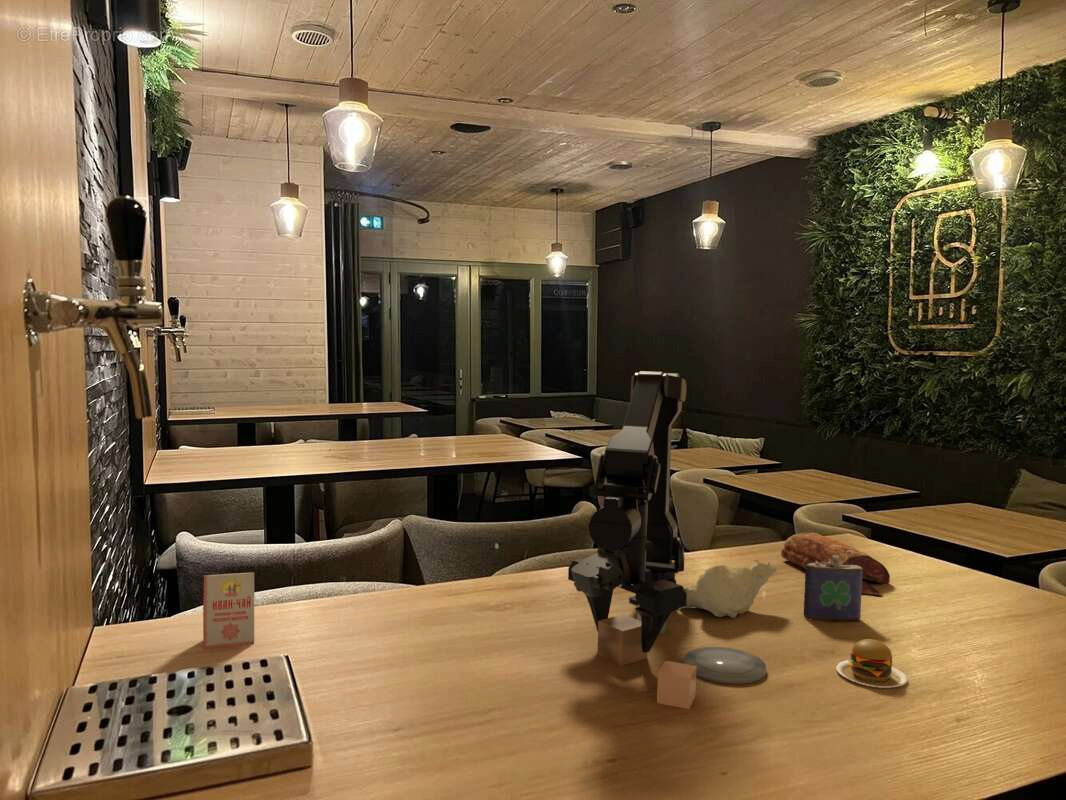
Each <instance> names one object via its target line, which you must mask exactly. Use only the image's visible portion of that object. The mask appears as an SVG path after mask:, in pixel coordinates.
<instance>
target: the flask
mask: <svg viewBox="0 0 1066 800" xmlns="http://www.w3.org/2000/svg"><path fill="white" fill-rule="evenodd" d="M832 557H833V558H832V560H831V561H828V563H826V562H822V563H824V564H822V563H818V561H816V562H815V563H809V564H807V565H806V566H805V568H804V570H805V574H804V594H803V595H804V596H803V598H804V599H803V617H805V618H807V619H806V620H809V619H811V620H810V621H814V620H822V621H821V622H827V621H831V622H832V621H834V622H838V621H848V622H849V621H855V622H860V620H861V618H862V617H861V615H862V614H861V612H862V609H861V608H862V594H863V593H862V580H863V579H862V572H863V571H862V570H863V569H862V567H860V566H857V565H840V564H841V563H840V562H839V556H836V555H833V556H832ZM840 560H841V558H840ZM805 618H804V619H805Z"/></svg>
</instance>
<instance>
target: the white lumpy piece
mask: <svg viewBox="0 0 1066 800" xmlns="http://www.w3.org/2000/svg"><path fill="white" fill-rule="evenodd" d="M754 562H756V564H754V565H751V566H750V565H747V566H745V565H744V566H728V565H726V564H717V565H716V564H715V565H713V566H711V567H709V568H708V569H705V570H704V573H701V574H700V575H699V577H698V580H697V582H696V585H693V586H691V587H690V586H687V587H684V589H685V590H686V591H687V603H686V606H685V608H696V609H700V610H701V609H702V610H703V609H704V611H705V610H706V611H708V612H710V613H712V614H713V615H714V616H715V617H719V618H722V617H724V616H726V617H727V616H729V618H733V619H735V618H736V617H737V615H738V614H743V613H745V612H746V611H749V610H750V608H751V607H752V606H753V604H754V599H756V597H757V595H758V593H759V592H760V589H761V588H762V587H763V586H764V585H765V584H766V583H767V582H768V581H769V578H771V577H772V576H773V575H775V573H777V572H778V570H777V567H776V565H775V564H773V563H770V561H766V562H760V561H759V560H757V559H755V560H754Z"/></svg>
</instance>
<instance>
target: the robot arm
mask: <svg viewBox="0 0 1066 800" xmlns="http://www.w3.org/2000/svg"><path fill="white" fill-rule="evenodd" d="M630 384H631V386H630V387H631V388H630V402H629V404H628V409H627V411H626V413H625V418H624V421H623V425H622V428H621V430H620V431H619V432H617V433H616V434H614V435H612V436H611V437H610V438H609V440H608V443H607V445H606V447H605V450H604V451H602V452H601V454H600V457H599V461H598V462H599V463H598V467H597V473H596V479H595V483H594V488H593V493H592V495H593V496H594V497H603V506H601V507H600V508H599V509H598V510H597V511H595V512H594V513H593V514H592V516H591V517H590V520H589V523H588V533H589V536H590V538H591V541H593V542H594V544H595V545H596V546H597V550H596V551H597V552H596V553H594V554H592V555H590V556H588V557H585V558H579V559H574V560H572V562H571V563H570V564H569V566H568V572H567V573H568V574H567V575H568V577H567V580H568V581H570V582H573V586H574V587H575V590H576V591H577V592H580V593H581V592H582V593H583V594H584V595H585V597H586V599H587V601H588V605H589V608H590V612H591V614H592V618H593V621H594V624H595V628H596V630H597V632H598V621H599V620H603V619H607V618H609V616H610V615H609V614H610V609H611V605H612V599H613V598H612V597H613V593H614V590H615V589H616V588H619V589H621V590H625V591H627V592H630V593H633V594H635V595H633V596H630V597H628V600H629V601H630V602H632V603H634V604H637V605H638V604H639V606H640V607H638V606H637V607H635V608H634V610H635V611H636V613H637V615H638V614H639V615H640V616H641V643H642V652H643V653H647V654H648V653H650V651H651V649H652V647H653V646H654V644H655V642H656V640H657V638H658V636H660V635H659V633H660V631H661V629H662V627H663V625H664V624H665V622H666V623H667V620H668V619H669V618H670V616H671V615H672V613H673V612H676V611H679V610H680V609H682V608H684V607H685V606H686V603H687V591H686V590H685V587H684V586H683V585H681V584H679V583H677V579H676V574H679V572H685V553H684V552H685V551H684V550H685V549H684V546H683V544H682V541H681V538H680V537H681V536H680V537H679V536H678V524H677V522H676V521H675V518H674V517H673V515H672V513H671V512H670V510H669V509H670V507H669V506H670V480H671V458H672V457H671V453H672V452H671V451H672V428H673V427H672V426H673V424H674V423H675V421H676V420H677V418H678V417H679V415H680V413H681V412H682V409H683V402H685V401H686V397H687V381H686V379H685V378H683V377H680V374H679V373H677V372H676V373H674V372H672V373H669V372H663V371H649V370H648V371H645V370H640V371H639V372H635V373H634V375H632V376H631V383H630ZM605 482H606V484H605ZM685 608H686V607H685Z"/></svg>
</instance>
